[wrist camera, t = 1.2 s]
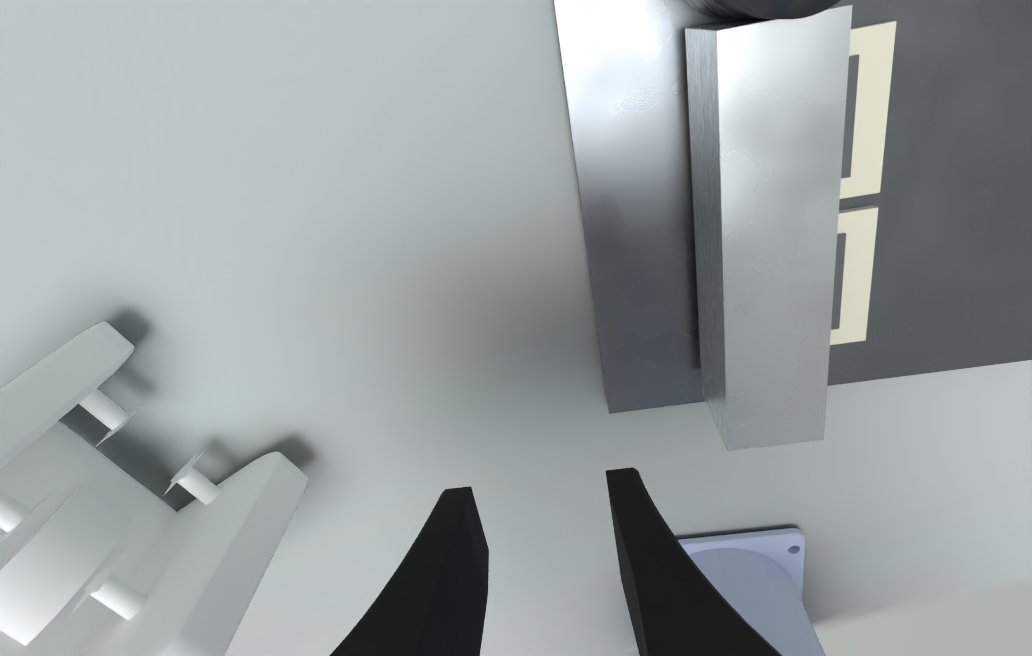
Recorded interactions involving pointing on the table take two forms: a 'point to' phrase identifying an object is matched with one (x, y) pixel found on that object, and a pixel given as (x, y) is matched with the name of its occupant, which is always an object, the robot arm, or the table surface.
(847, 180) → the label
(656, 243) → the lid
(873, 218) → the label
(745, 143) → the bar
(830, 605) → the table surface
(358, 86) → the table surface
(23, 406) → the cable organizer
